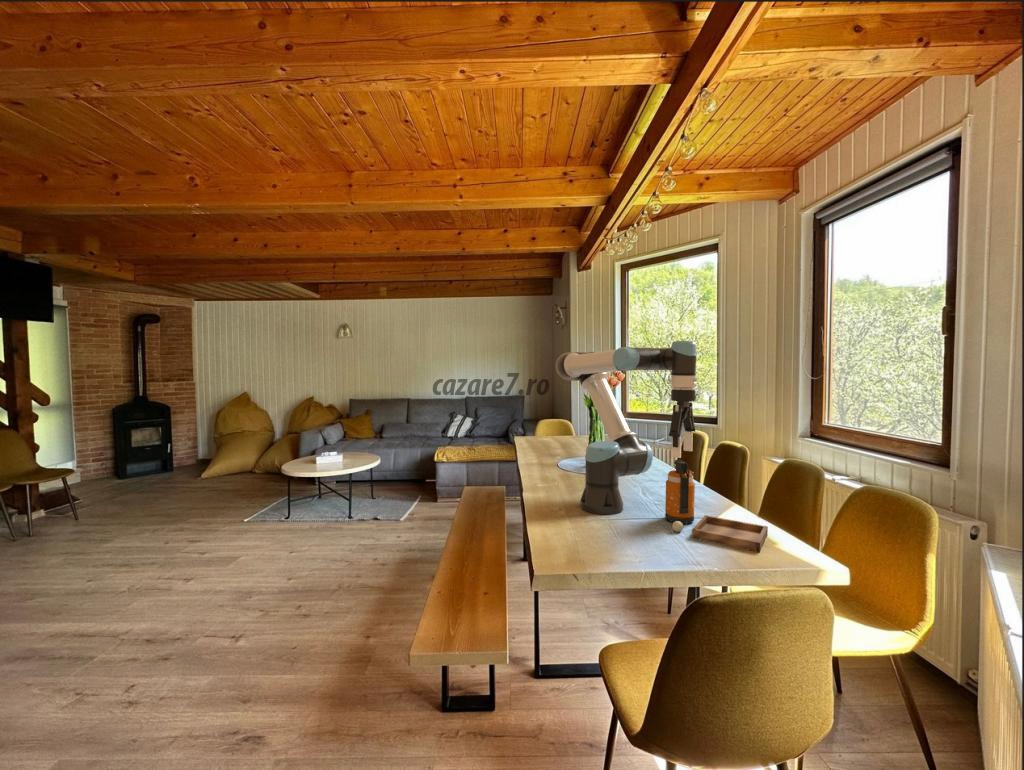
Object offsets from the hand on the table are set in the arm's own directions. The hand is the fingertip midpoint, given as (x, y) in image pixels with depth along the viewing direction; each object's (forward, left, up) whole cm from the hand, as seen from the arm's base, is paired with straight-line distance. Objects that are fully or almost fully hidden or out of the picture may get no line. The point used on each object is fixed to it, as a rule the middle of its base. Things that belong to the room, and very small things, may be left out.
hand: (682, 454), depth 153 cm
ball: (+2, -10, -22) cm, 25 cm away
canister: (0, 0, -23) cm, 23 cm away
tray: (+16, -5, -22) cm, 28 cm away
